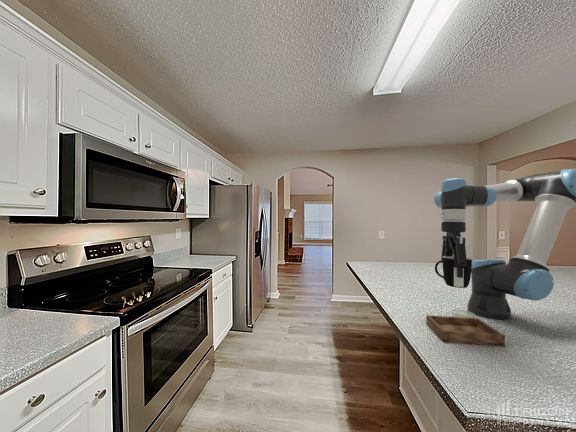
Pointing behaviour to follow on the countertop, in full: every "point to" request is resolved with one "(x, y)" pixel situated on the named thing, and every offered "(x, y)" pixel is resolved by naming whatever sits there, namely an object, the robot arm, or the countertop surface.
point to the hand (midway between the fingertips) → (453, 283)
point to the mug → (449, 271)
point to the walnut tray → (464, 330)
